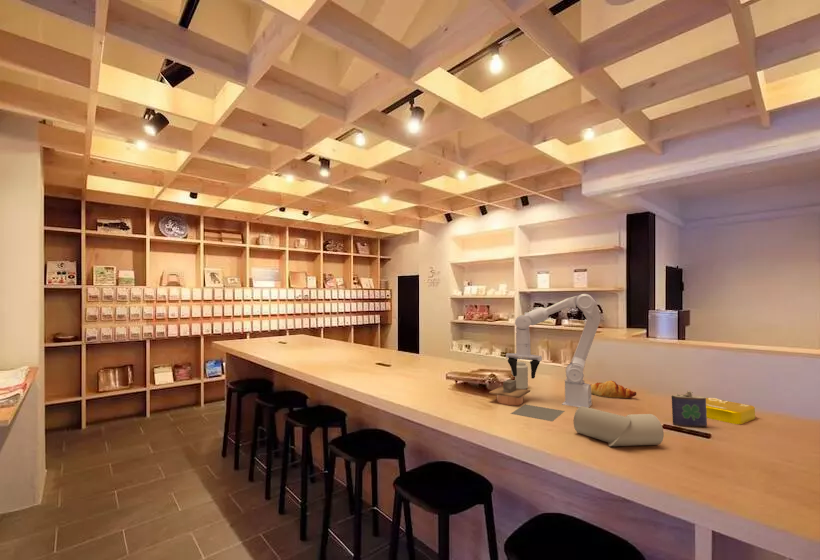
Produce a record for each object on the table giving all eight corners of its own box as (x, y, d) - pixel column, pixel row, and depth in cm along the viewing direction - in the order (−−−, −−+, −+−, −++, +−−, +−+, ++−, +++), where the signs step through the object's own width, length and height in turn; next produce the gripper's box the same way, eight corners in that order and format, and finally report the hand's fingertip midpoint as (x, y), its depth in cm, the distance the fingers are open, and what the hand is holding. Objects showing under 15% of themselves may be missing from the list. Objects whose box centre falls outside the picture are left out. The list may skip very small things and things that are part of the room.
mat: (564, 412, 144) (564, 410, 144) (552, 422, 132) (552, 421, 132) (525, 405, 153) (525, 404, 153) (510, 414, 141) (510, 413, 141)
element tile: (688, 414, 141) (688, 401, 142) (707, 408, 149) (706, 395, 149) (739, 426, 129) (739, 411, 129) (757, 418, 136) (756, 405, 137)
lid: (530, 391, 158) (530, 380, 159) (518, 398, 149) (518, 385, 149) (501, 387, 166) (501, 376, 166) (489, 393, 156) (488, 381, 156)
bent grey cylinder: (600, 450, 105) (669, 447, 107) (594, 409, 108) (662, 407, 110) (569, 441, 122) (629, 439, 124) (565, 406, 125) (624, 404, 127)
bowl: (526, 401, 158) (526, 391, 158) (517, 407, 150) (517, 396, 150) (503, 398, 164) (503, 388, 164) (493, 403, 156) (493, 393, 156)
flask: (704, 425, 129) (703, 390, 129) (709, 428, 126) (708, 392, 126) (671, 423, 131) (669, 388, 131) (675, 426, 128) (674, 391, 128)
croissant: (581, 401, 172) (578, 386, 170) (585, 386, 180) (583, 372, 177) (636, 408, 160) (634, 392, 157) (638, 392, 167) (636, 377, 164)
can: (530, 390, 178) (529, 363, 178) (513, 390, 178) (513, 363, 178) (525, 386, 185) (525, 361, 186) (509, 386, 185) (509, 361, 186)
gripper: (502, 343, 163) (503, 376, 162) (537, 346, 154) (538, 380, 153) (509, 342, 168) (510, 373, 168) (543, 344, 160) (543, 377, 159)
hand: (523, 377), depth 161 cm, fingers open, 7 cm apart
